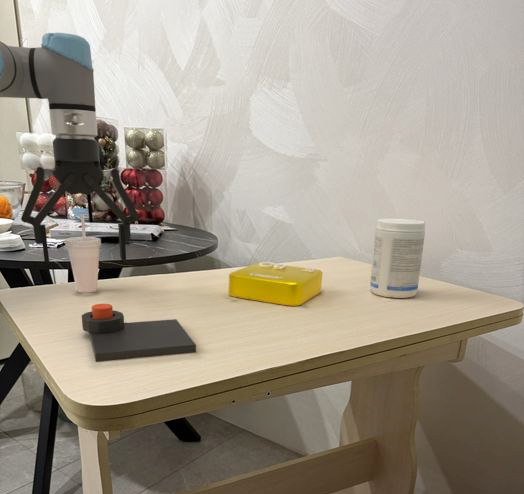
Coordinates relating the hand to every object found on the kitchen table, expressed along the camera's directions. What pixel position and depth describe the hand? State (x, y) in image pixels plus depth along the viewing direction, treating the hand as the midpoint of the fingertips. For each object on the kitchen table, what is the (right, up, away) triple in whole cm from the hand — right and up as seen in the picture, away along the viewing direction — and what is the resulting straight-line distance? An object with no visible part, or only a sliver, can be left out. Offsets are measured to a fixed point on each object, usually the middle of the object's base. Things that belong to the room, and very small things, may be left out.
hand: (86, 260), depth 97 cm
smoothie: (0, -6, +2) cm, 6 cm away
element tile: (+36, -6, +6) cm, 37 cm away
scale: (+16, -16, -24) cm, 33 cm away
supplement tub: (+60, -5, +10) cm, 61 cm away
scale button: (+10, -12, -23) cm, 28 cm away
